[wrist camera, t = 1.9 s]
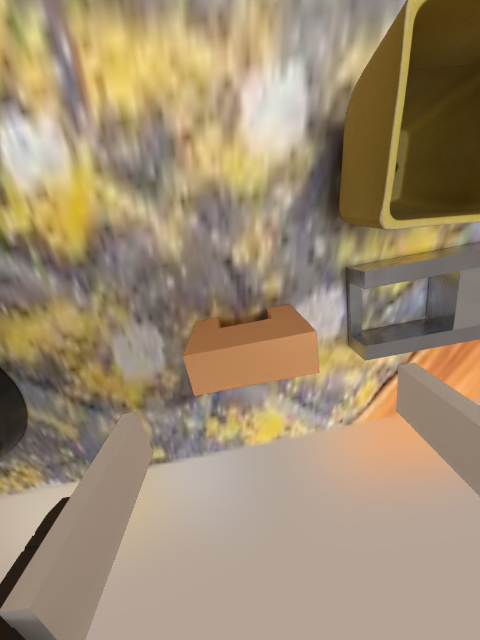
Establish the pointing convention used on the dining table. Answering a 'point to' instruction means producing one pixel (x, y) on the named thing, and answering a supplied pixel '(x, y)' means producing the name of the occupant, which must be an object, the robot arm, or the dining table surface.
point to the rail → (442, 303)
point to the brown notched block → (250, 351)
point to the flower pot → (417, 122)
